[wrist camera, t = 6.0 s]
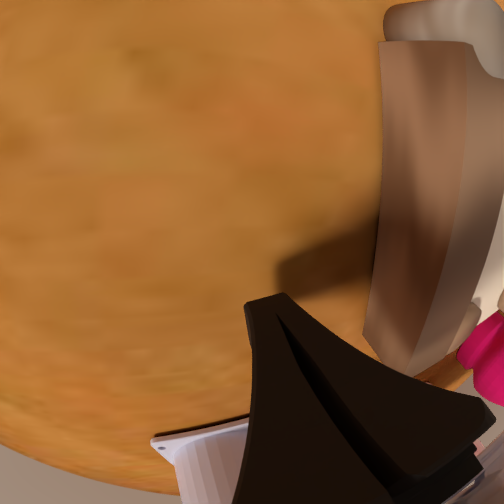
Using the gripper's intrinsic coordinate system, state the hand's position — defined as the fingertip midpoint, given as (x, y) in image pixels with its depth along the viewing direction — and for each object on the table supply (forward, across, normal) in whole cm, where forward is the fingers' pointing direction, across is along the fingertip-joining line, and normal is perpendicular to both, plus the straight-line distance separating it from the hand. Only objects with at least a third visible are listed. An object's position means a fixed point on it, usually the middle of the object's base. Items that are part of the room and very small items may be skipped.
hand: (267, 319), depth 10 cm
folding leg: (+1, -7, -3) cm, 7 cm away
